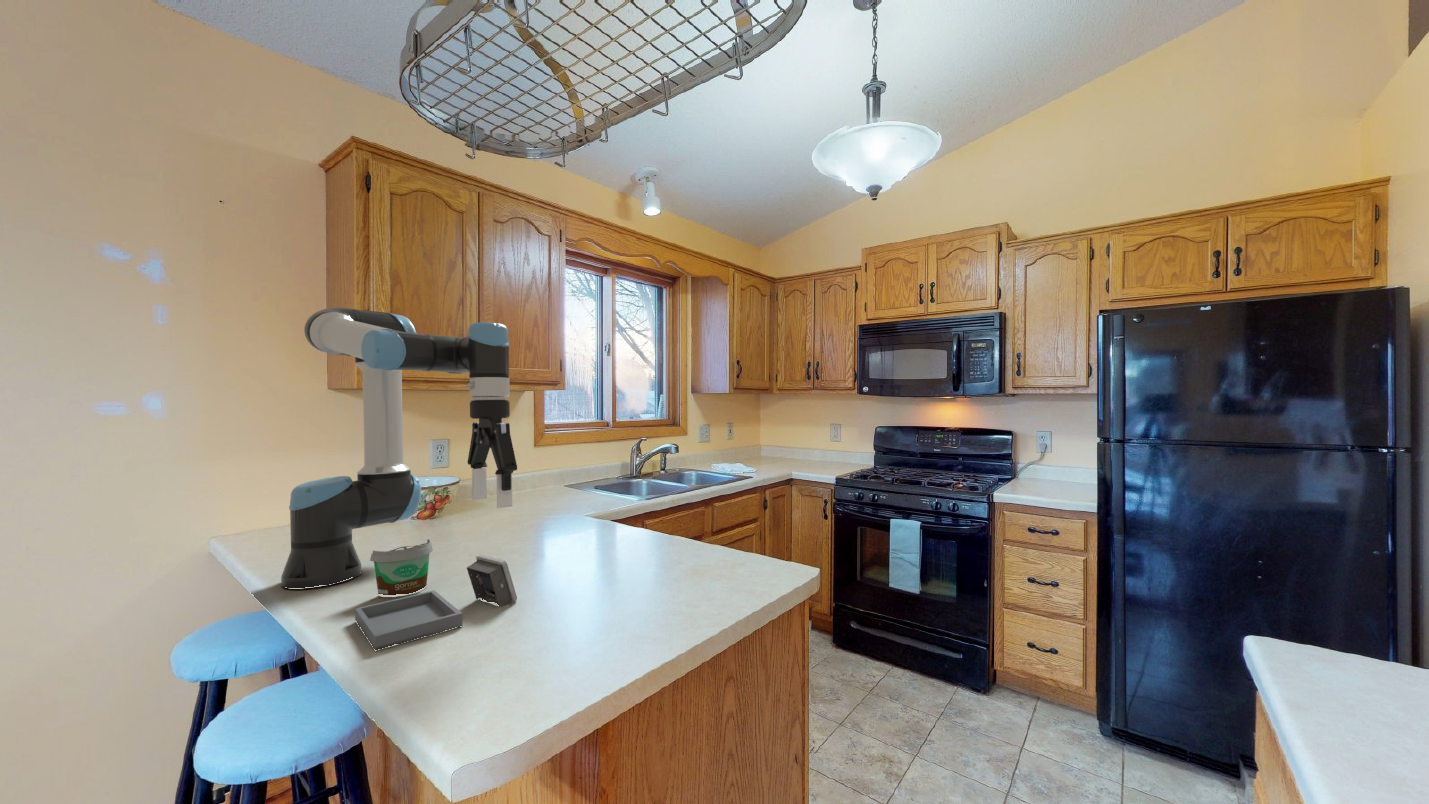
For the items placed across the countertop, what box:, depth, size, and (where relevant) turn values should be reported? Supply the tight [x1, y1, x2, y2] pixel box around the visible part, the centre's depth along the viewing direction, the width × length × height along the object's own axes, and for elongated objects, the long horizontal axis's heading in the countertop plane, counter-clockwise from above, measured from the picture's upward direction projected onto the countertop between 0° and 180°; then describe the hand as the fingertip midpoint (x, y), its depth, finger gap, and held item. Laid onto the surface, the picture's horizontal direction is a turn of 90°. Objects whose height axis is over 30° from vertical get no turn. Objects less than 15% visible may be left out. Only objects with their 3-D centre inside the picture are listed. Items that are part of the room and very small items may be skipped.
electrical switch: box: [466, 554, 518, 608], centre depth 108 cm, size 9×5×9 cm, turn 57°
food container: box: [369, 538, 434, 595], centre depth 115 cm, size 12×6×10 cm, turn 143°
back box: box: [354, 589, 463, 650], centre depth 98 cm, size 17×14×2 cm
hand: (491, 503), depth 108 cm, fingers open, 13 cm apart
